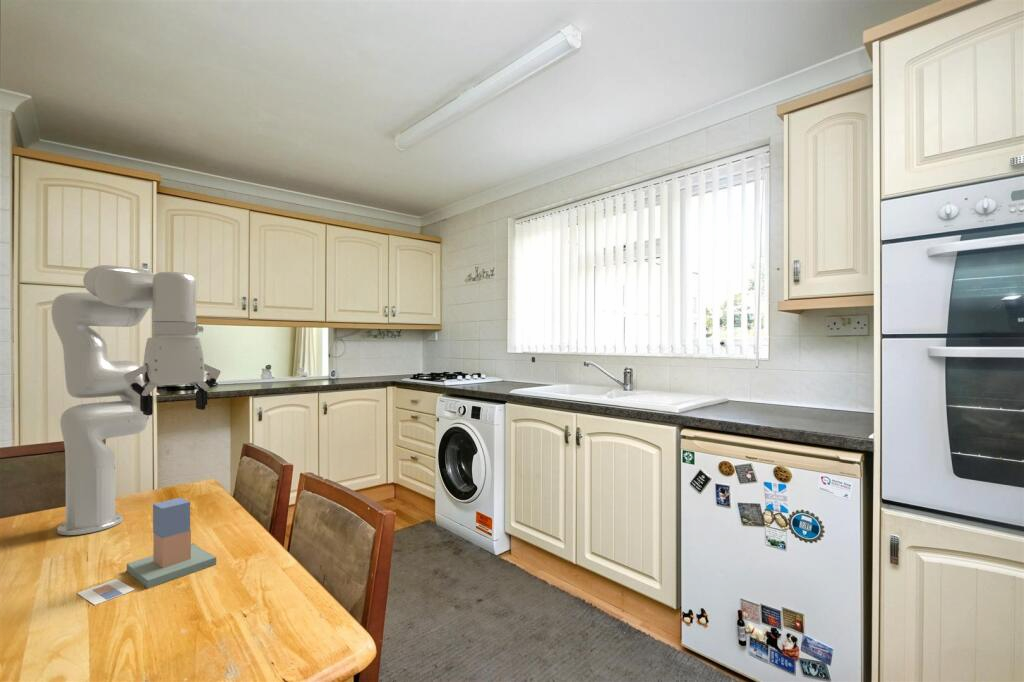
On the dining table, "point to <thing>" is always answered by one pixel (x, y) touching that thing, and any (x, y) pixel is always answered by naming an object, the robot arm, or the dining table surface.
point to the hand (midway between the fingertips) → (175, 411)
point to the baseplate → (169, 567)
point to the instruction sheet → (105, 591)
